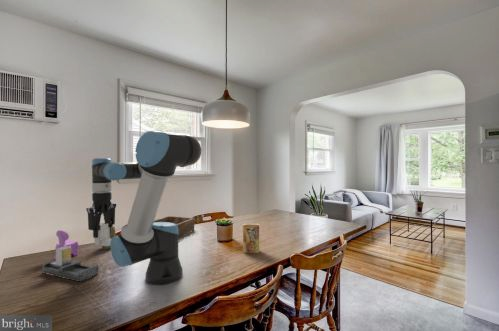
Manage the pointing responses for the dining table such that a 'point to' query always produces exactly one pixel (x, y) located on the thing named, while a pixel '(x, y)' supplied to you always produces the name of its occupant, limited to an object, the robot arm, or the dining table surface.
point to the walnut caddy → (179, 224)
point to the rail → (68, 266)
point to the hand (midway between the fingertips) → (102, 242)
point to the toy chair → (63, 237)
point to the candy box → (250, 238)
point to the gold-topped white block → (104, 234)
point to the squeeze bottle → (110, 237)
